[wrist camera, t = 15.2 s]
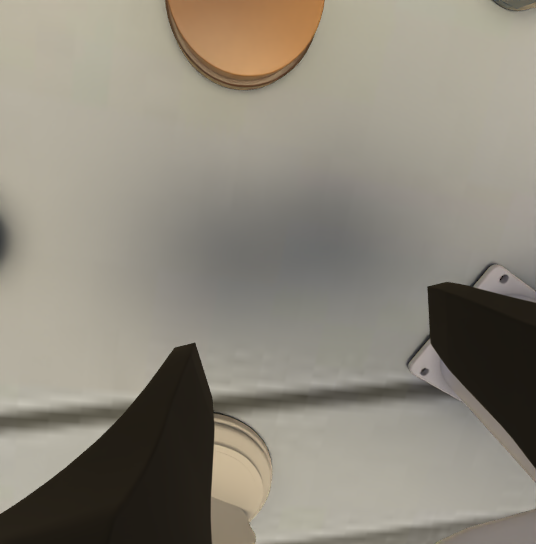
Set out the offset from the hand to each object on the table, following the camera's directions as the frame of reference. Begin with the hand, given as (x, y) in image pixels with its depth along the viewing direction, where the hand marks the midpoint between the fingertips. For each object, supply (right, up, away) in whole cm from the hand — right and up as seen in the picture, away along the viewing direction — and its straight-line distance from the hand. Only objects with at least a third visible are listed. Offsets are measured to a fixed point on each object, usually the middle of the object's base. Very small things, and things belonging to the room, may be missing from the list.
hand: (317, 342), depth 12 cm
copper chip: (-2, +13, +3) cm, 13 cm away
